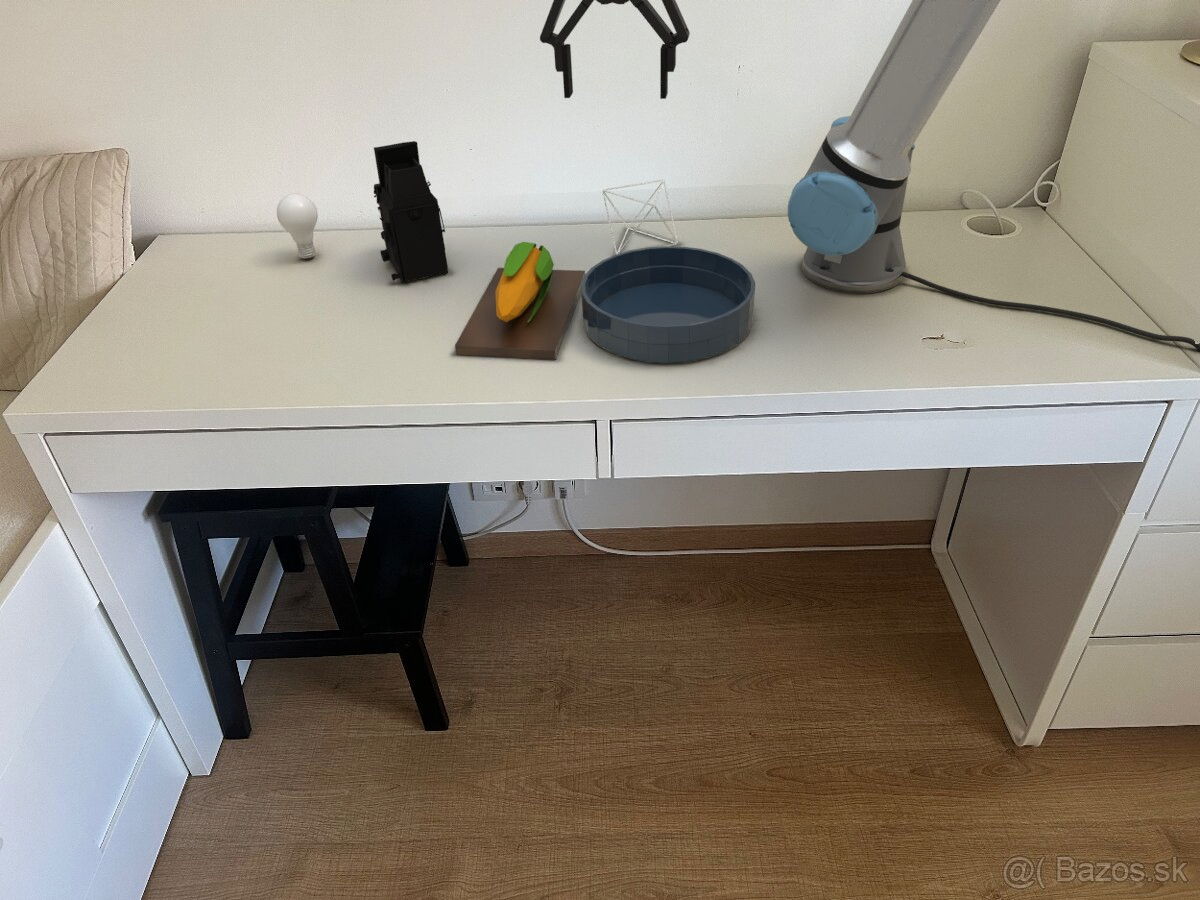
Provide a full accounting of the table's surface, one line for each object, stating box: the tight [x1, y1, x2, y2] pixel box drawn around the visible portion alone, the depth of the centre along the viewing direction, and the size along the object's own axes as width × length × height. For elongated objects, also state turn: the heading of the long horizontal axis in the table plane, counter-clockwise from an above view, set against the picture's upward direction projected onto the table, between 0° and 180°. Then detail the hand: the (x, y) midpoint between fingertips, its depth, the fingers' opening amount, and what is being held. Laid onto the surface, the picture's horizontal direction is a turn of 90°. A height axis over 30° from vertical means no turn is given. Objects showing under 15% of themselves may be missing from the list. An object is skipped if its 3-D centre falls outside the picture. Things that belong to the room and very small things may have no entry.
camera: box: [373, 140, 449, 284], centre depth 141 cm, size 10×14×20 cm
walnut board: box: [454, 267, 586, 361], centre depth 132 cm, size 14×24×2 cm, turn 171°
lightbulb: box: [276, 193, 319, 260], centre depth 147 cm, size 6×6×11 cm
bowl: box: [580, 245, 756, 364], centre depth 127 cm, size 24×24×6 cm
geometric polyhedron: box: [601, 179, 679, 255], centre depth 147 cm, size 12×11×9 cm
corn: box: [496, 241, 555, 322], centre depth 129 cm, size 7×8×20 cm
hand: (616, 95), depth 127 cm, fingers open, 13 cm apart
